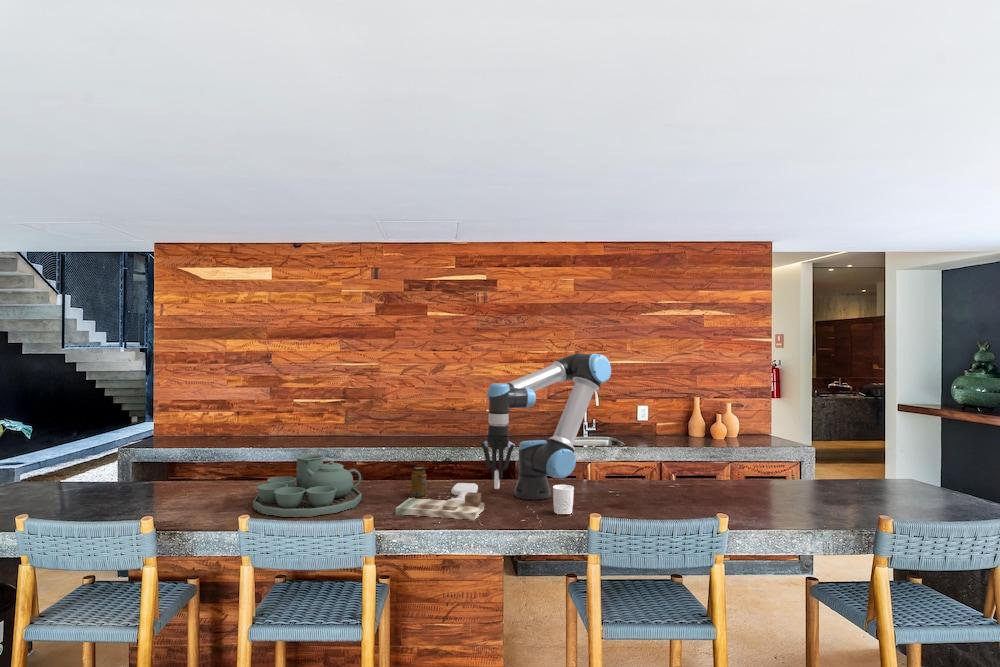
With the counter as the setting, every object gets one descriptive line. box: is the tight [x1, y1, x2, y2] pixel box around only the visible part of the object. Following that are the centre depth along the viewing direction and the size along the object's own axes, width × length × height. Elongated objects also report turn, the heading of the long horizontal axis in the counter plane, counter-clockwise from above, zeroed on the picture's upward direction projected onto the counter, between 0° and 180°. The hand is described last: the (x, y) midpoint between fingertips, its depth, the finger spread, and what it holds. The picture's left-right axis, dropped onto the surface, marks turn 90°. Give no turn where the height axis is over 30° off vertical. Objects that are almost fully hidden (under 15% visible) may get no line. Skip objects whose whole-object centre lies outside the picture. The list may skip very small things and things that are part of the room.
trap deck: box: [395, 497, 485, 521], centre depth 230 cm, size 30×15×2 cm, turn 79°
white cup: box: [552, 484, 575, 514], centre depth 229 cm, size 8×8×10 cm
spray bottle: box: [447, 482, 479, 502], centre depth 255 cm, size 3×11×25 cm
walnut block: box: [465, 492, 482, 507], centre depth 231 cm, size 5×5×4 cm
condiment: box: [410, 466, 427, 498], centre depth 252 cm, size 7×8×12 cm
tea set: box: [252, 453, 363, 516], centre depth 239 cm, size 40×40×16 cm
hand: (496, 488), depth 229 cm, fingers closed
